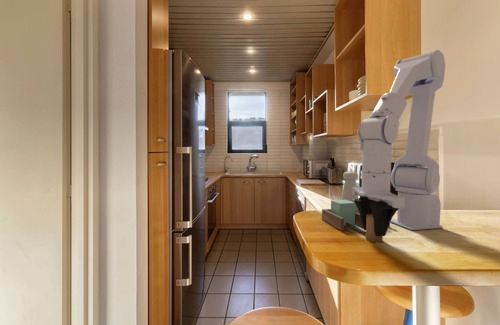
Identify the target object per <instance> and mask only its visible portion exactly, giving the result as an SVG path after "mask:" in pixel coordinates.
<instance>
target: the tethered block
mask: <svg viewBox="0 0 500 325" xmlns="http://www.w3.org/2000/svg"><path fill="white" fill-rule="evenodd" d="M330 209H331V212H332V213H334V214H336V215H338V216H340V217H342V218H344V227H350V228H352V229H353V230H356V231H357V232H359V233H361V234H363V235H364V236H365V240H366V241H368V242H370V243H376V242H380V243H382V242H383V241H384V240H383V237H384V236H375V232H374V218H373V214H367V215H366V231H365V230H364V229H362V228H360V227H357V226H355V225H356V224H355V203H354V202H351V201H348V200H341V199H334V200H333V199H332V200H330Z"/></svg>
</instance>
